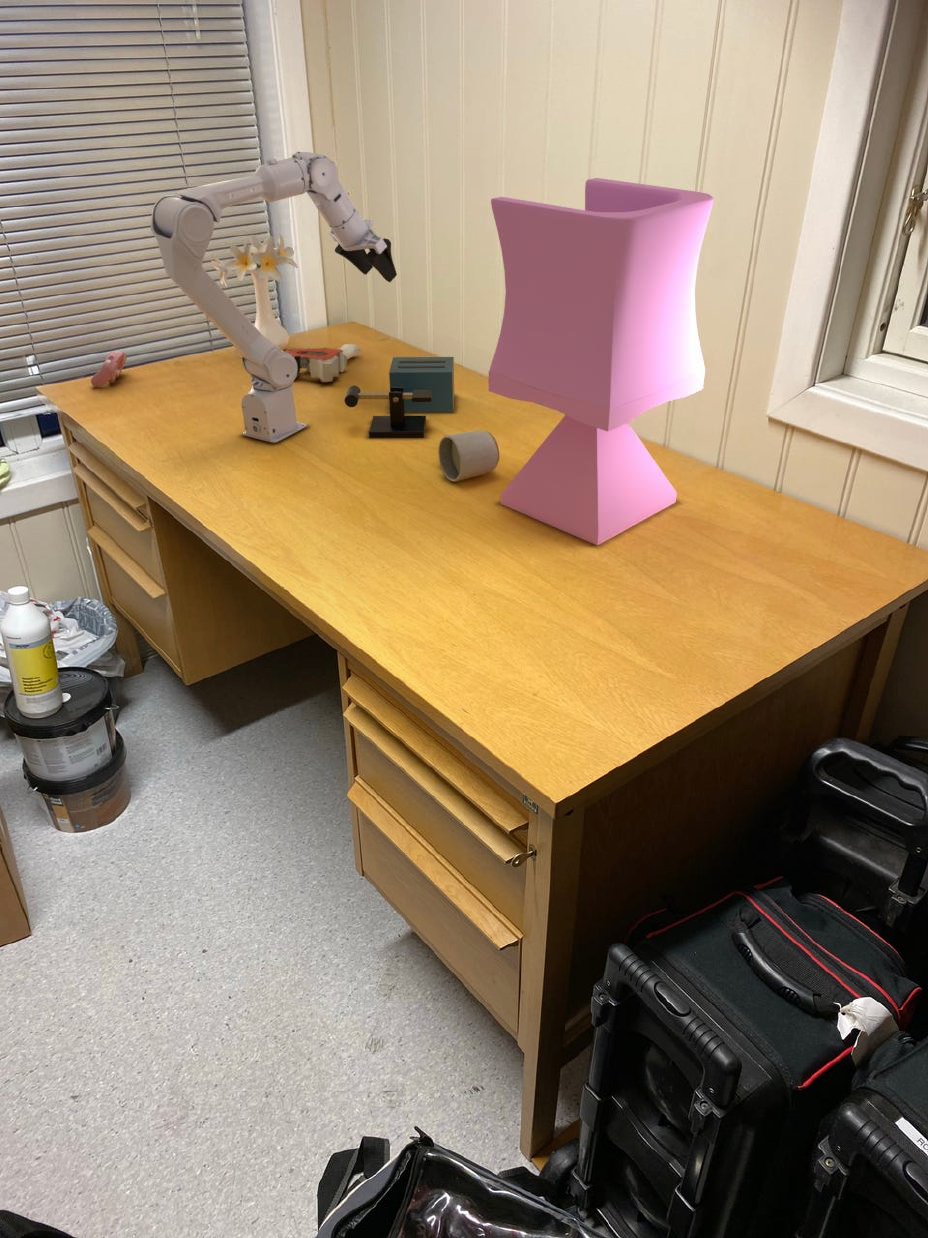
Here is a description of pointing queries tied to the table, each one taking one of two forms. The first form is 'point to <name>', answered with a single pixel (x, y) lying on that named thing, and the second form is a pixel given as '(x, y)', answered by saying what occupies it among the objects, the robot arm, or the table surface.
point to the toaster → (425, 381)
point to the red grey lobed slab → (324, 360)
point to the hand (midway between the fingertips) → (380, 274)
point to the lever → (384, 396)
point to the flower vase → (260, 280)
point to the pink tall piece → (598, 344)
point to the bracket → (397, 420)
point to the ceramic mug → (468, 454)
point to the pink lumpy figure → (110, 369)
